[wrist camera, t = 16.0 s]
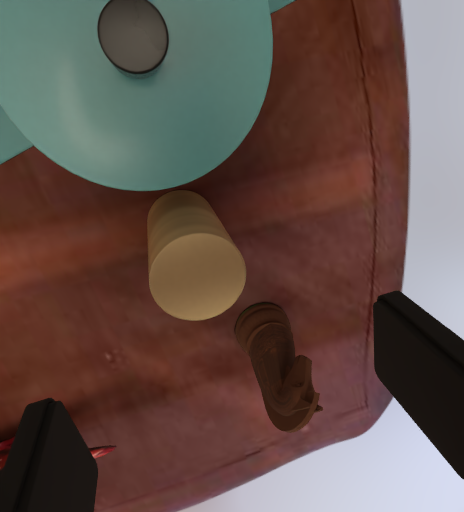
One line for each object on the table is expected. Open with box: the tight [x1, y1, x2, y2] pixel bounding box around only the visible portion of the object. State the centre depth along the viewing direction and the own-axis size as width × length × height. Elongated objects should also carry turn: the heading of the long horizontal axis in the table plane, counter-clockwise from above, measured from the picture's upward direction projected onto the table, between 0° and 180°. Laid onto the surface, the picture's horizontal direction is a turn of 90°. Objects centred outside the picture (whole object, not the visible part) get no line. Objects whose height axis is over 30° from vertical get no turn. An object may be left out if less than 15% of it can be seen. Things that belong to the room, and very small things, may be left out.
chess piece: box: [235, 303, 323, 433], centre depth 26 cm, size 5×5×10 cm
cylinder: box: [147, 190, 246, 320], centre depth 22 cm, size 5×5×9 cm
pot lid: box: [0, 0, 273, 191], centre depth 13 cm, size 11×11×4 cm
